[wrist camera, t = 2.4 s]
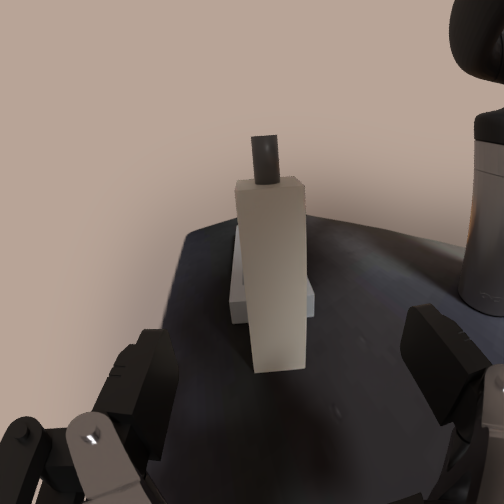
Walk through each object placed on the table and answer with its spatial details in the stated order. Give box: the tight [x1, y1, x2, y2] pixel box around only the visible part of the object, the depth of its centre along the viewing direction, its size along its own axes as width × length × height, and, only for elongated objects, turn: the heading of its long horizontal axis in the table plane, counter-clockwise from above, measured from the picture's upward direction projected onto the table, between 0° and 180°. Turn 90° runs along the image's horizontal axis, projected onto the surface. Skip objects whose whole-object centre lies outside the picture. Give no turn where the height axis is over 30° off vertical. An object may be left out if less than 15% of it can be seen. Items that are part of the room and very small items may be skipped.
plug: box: [235, 135, 307, 373], centre depth 21 cm, size 4×4×17 cm
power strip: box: [229, 225, 315, 324], centre depth 41 cm, size 29×8×3 cm, turn 1°
